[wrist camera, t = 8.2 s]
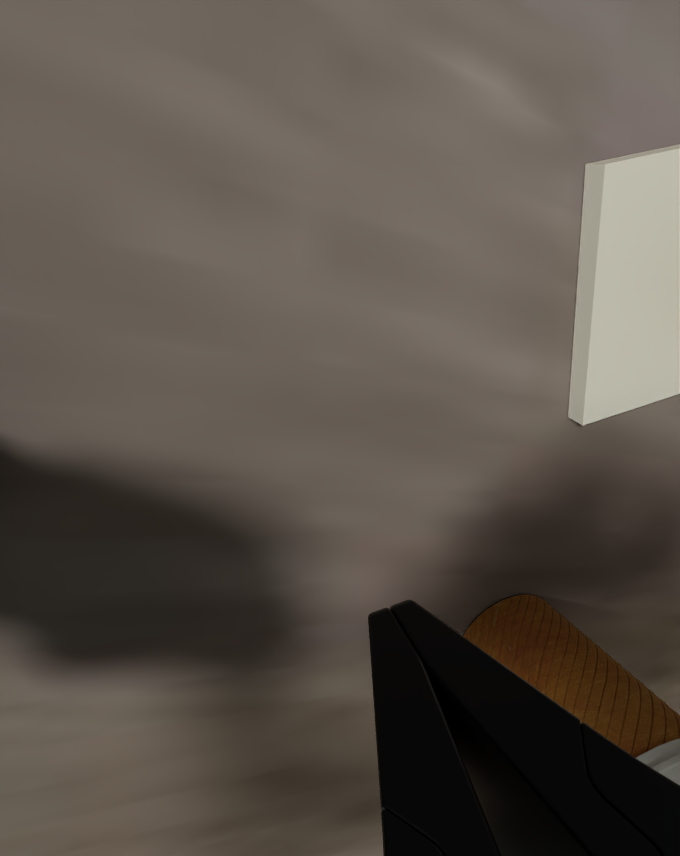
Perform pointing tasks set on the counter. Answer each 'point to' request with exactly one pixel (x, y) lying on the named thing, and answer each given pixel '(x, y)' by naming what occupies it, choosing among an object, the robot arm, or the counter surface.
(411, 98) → the counter surface
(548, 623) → the disposable coffee cup
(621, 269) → the thin white base plate
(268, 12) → the counter surface
